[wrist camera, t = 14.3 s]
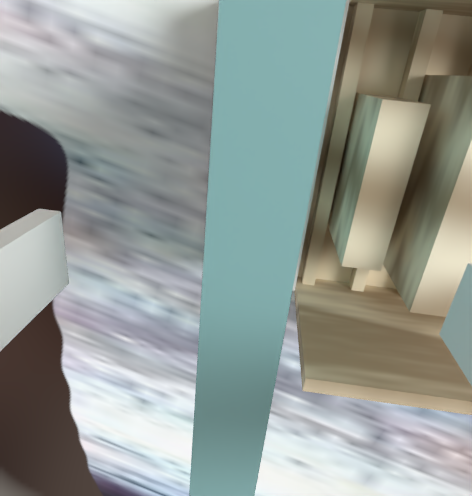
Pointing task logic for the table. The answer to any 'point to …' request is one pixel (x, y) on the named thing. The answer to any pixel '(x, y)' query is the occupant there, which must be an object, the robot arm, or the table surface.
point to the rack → (379, 282)
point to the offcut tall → (436, 202)
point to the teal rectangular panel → (255, 221)
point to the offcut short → (374, 176)
